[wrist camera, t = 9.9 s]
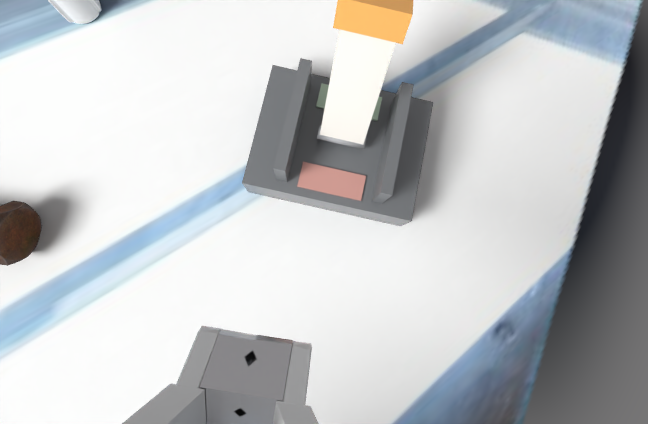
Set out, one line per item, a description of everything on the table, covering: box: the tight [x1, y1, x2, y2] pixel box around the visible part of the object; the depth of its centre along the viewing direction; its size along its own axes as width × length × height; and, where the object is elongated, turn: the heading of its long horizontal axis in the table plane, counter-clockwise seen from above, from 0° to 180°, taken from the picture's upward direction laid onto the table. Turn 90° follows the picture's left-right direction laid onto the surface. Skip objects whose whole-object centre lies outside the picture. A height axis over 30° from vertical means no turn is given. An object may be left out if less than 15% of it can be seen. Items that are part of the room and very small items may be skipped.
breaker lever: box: [317, 0, 413, 149], centre depth 30 cm, size 2×5×13 cm, turn 78°
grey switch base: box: [242, 58, 433, 226], centre depth 35 cm, size 12×16×8 cm
